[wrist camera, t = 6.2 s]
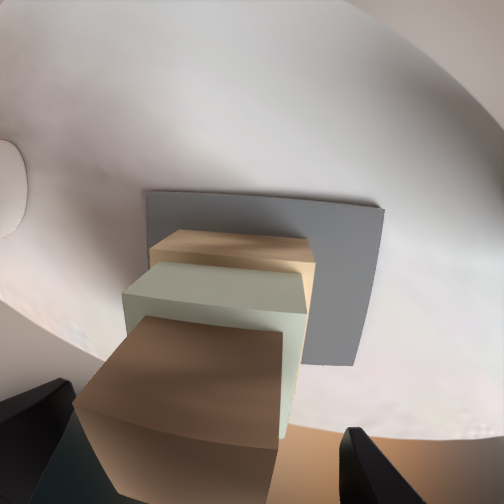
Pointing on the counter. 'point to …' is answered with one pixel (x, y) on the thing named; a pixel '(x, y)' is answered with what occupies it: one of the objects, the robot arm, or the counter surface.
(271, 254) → the tower base
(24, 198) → the pill bottle
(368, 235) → the slate board
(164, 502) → the walnut block
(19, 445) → the robot arm
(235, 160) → the counter surface
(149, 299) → the tower mid
